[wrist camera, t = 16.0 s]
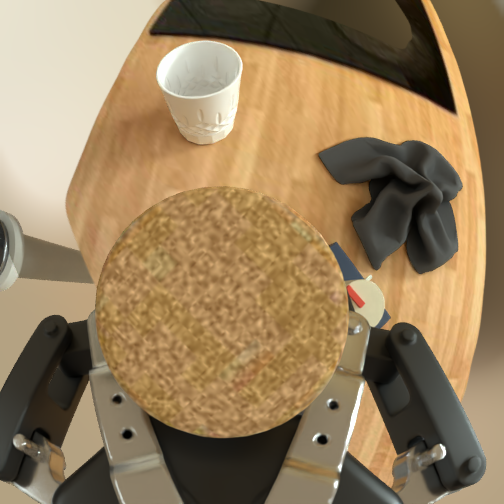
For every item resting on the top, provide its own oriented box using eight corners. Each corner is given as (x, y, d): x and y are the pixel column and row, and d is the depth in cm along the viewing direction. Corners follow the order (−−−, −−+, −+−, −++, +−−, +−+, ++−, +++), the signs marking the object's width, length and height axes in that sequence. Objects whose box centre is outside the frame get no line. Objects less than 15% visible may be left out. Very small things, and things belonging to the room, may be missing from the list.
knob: (369, 303, 28) (395, 305, 22) (339, 335, 27) (361, 344, 22) (341, 271, 28) (364, 267, 23) (310, 303, 27) (327, 306, 22)
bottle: (250, 241, 20) (284, 114, 5) (290, 317, 20) (418, 370, 5) (174, 279, 20) (33, 244, 5) (213, 356, 19) (163, 494, 4)
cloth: (455, 155, 34) (480, 139, 28) (462, 280, 32) (493, 277, 26) (319, 114, 33) (333, 85, 27) (311, 262, 31) (329, 256, 25)
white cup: (247, 140, 32) (253, 86, 22) (180, 157, 32) (162, 109, 22) (229, 90, 33) (229, 34, 23) (168, 105, 32) (151, 52, 22)
